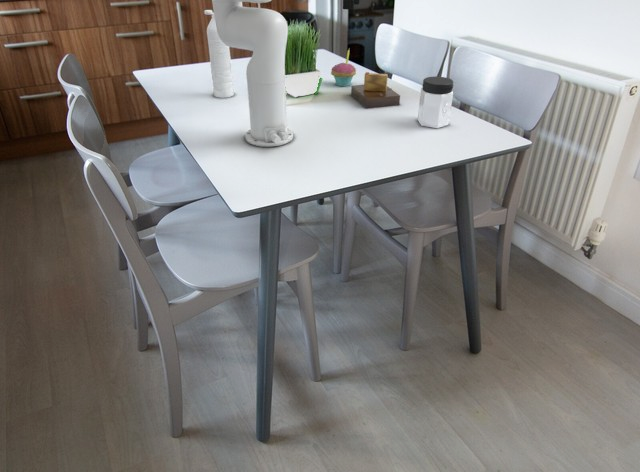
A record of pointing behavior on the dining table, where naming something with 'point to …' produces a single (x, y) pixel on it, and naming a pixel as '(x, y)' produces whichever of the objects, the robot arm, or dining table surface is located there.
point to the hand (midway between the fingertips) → (351, 6)
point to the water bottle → (219, 61)
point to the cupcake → (343, 72)
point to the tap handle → (375, 82)
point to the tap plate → (375, 97)
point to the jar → (435, 102)
